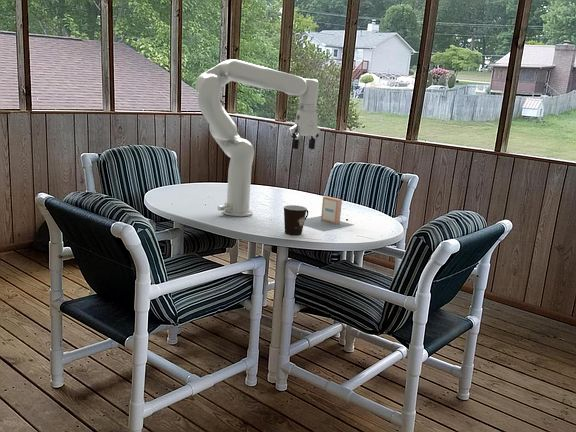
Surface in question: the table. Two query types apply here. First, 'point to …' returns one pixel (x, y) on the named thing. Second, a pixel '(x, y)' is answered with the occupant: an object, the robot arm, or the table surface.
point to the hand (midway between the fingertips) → (303, 148)
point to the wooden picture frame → (331, 210)
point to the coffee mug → (294, 219)
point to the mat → (323, 224)
